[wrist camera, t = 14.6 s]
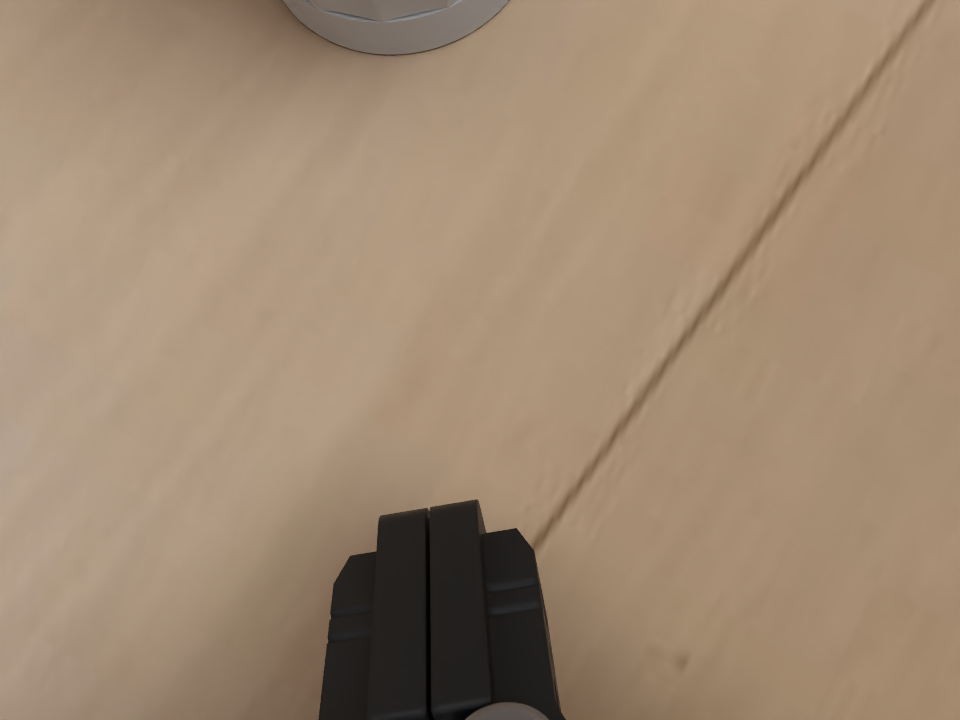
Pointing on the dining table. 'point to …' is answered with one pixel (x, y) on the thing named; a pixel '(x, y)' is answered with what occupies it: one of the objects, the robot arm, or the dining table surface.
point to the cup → (394, 22)
